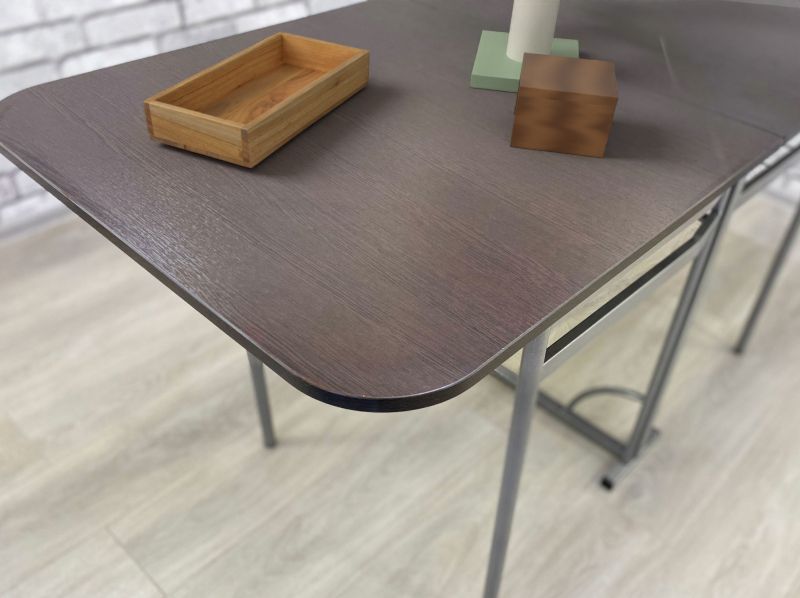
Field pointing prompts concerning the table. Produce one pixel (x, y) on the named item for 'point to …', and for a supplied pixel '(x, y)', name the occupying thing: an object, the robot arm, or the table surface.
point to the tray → (257, 98)
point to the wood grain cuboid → (564, 104)
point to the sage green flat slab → (507, 61)
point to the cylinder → (532, 28)
